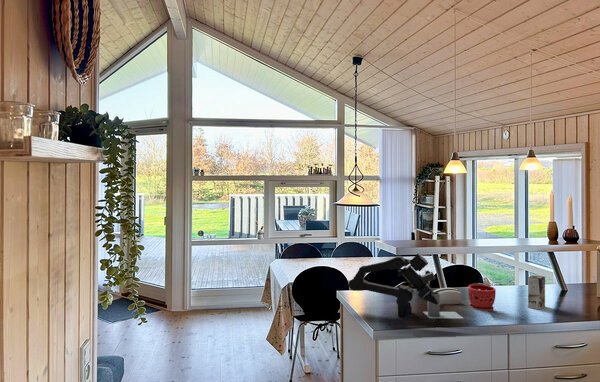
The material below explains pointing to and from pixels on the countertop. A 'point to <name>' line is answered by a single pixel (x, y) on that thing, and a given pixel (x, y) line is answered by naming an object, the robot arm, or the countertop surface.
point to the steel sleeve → (434, 306)
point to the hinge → (449, 296)
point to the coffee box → (536, 292)
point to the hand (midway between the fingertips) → (436, 301)
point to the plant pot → (481, 297)
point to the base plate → (446, 315)
